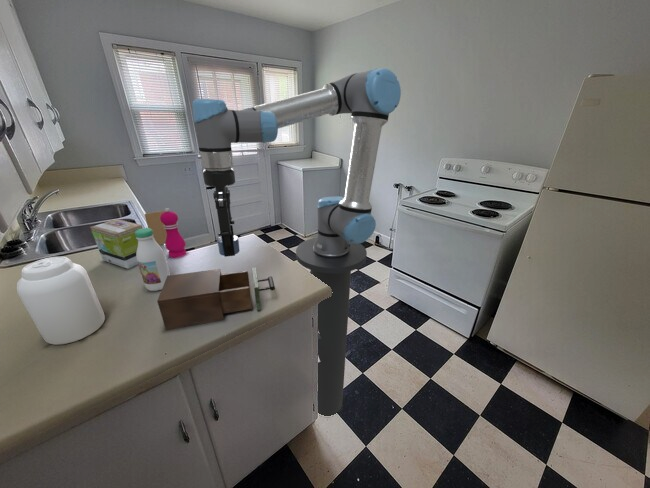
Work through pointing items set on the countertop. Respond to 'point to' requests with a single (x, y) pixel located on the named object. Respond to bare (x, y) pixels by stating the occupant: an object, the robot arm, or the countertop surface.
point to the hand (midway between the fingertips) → (230, 250)
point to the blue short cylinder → (235, 242)
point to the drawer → (240, 290)
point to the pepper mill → (173, 234)
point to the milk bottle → (151, 260)
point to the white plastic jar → (60, 300)
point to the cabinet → (191, 299)
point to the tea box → (117, 242)
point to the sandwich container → (156, 226)
